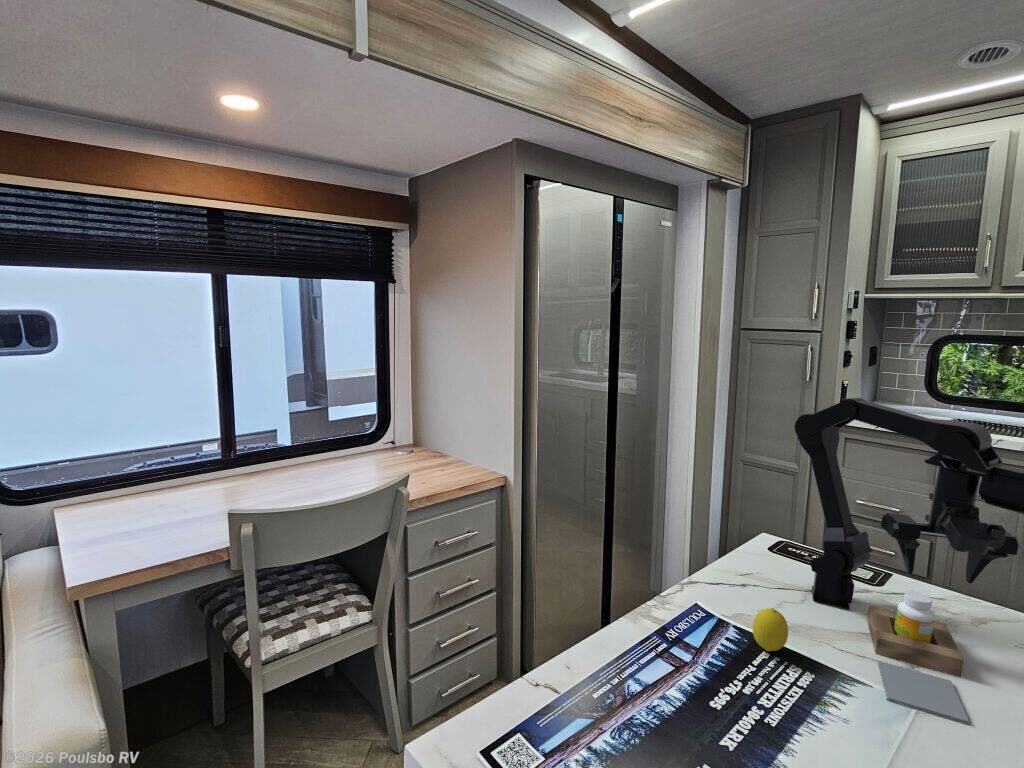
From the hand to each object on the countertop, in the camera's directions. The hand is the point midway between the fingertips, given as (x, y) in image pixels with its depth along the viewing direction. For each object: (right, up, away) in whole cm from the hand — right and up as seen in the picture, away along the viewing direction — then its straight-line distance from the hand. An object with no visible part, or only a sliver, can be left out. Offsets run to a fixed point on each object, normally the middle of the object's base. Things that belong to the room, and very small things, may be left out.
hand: (938, 577), depth 97 cm
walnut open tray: (-4, -13, +1) cm, 13 cm away
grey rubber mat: (-11, -14, -11) cm, 21 cm away
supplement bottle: (-4, -13, +1) cm, 14 cm away
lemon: (-31, -12, -2) cm, 34 cm away
